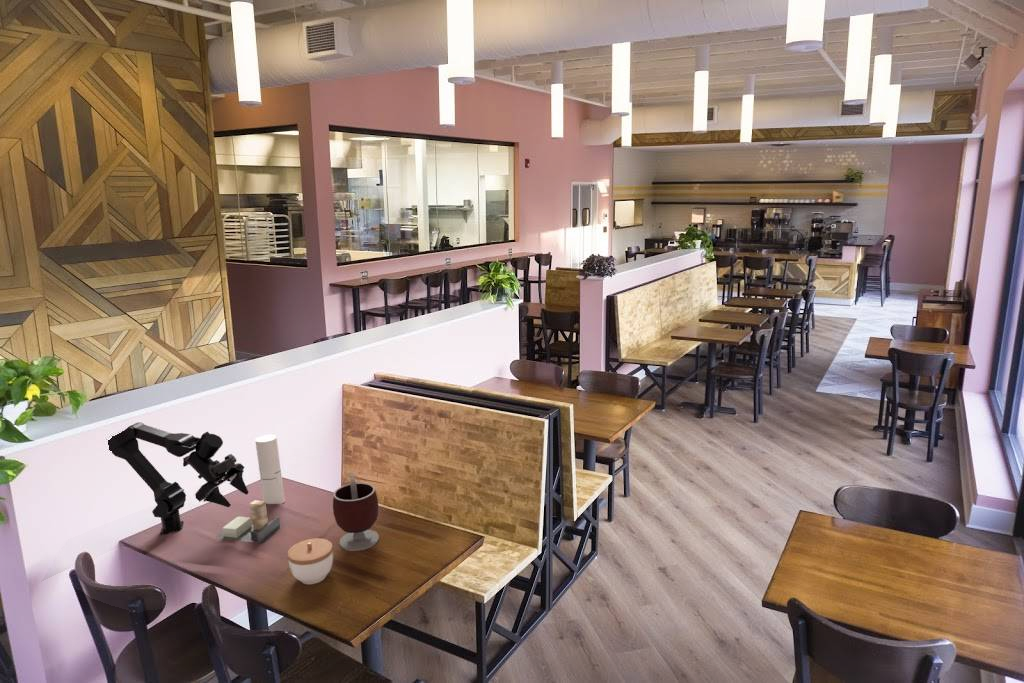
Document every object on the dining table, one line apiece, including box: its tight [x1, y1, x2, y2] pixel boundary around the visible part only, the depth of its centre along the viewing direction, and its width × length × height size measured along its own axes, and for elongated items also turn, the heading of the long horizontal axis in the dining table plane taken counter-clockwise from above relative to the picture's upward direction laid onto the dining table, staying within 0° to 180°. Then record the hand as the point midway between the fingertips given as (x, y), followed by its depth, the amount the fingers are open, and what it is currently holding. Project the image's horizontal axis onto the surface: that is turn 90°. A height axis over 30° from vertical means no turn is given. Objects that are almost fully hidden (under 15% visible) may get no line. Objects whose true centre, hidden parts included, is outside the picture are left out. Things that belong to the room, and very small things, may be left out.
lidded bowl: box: [286, 537, 334, 585], centre depth 197 cm, size 13×13×11 cm
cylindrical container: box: [254, 434, 286, 505], centre depth 244 cm, size 7×7×25 cm
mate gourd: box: [332, 472, 380, 552], centre depth 216 cm, size 16×14×20 cm
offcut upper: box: [222, 515, 252, 534], centre depth 224 cm, size 5×8×2 cm, turn 165°
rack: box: [214, 516, 283, 544], centre depth 223 cm, size 18×11×5 cm, turn 75°
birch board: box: [249, 499, 269, 530], centre depth 221 cm, size 4×2×11 cm, turn 75°
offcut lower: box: [222, 521, 252, 538], centre depth 224 cm, size 5×8×2 cm, turn 165°
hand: (238, 499), depth 221 cm, fingers open, 9 cm apart
